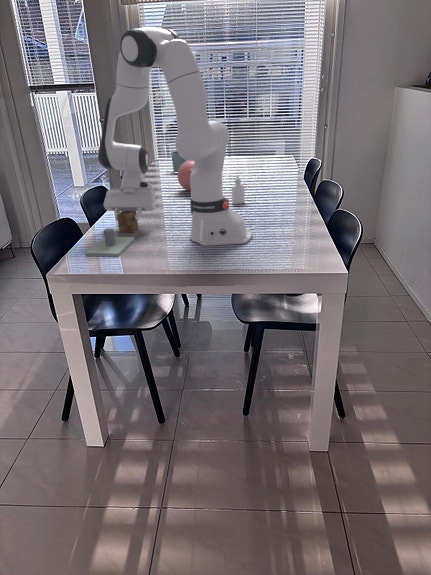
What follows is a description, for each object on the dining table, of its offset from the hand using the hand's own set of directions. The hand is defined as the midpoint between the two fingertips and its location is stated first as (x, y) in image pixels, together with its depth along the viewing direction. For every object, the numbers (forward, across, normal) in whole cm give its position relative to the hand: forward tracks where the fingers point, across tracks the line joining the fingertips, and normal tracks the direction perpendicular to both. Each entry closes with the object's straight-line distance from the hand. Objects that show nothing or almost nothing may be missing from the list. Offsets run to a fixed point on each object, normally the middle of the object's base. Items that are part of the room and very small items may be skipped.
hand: (126, 220), depth 164 cm
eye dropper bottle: (-25, +38, +31) cm, 55 cm away
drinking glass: (-74, -6, +80) cm, 109 cm away
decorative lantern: (-39, +13, +45) cm, 61 cm away
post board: (+15, 0, -9) cm, 18 cm away
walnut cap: (+3, 0, +4) cm, 4 cm away
